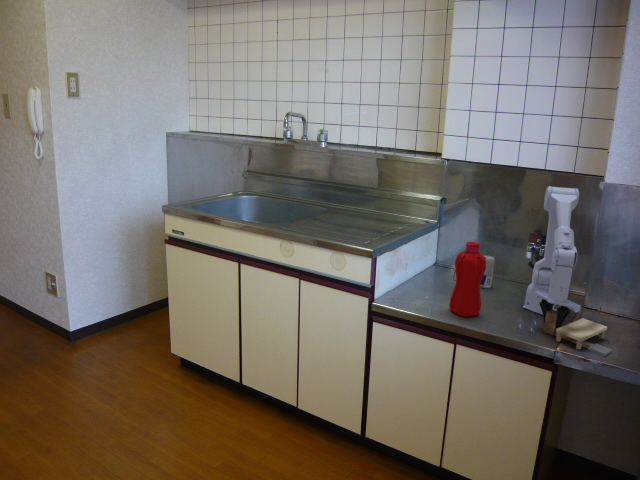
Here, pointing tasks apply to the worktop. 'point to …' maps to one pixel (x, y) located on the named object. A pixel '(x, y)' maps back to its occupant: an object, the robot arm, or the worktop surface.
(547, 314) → the wooden mallet
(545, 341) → the worktop surface
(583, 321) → the small wooden table
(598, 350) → the coaster
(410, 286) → the worktop surface
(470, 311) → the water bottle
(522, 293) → the worktop surface
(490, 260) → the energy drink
